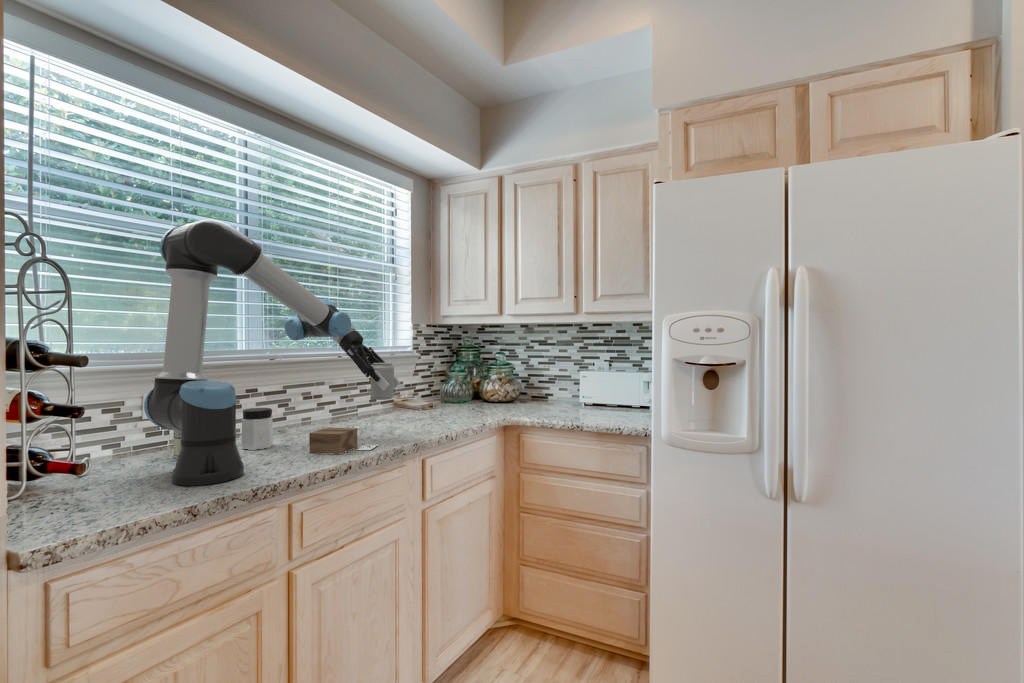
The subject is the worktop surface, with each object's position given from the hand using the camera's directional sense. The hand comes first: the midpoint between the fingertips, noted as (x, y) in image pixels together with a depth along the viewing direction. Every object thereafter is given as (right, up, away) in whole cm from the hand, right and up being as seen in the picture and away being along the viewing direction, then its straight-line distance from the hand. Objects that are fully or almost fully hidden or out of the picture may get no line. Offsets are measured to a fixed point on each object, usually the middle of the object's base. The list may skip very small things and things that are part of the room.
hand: (392, 386), depth 167 cm
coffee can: (-54, -19, -17) cm, 60 cm away
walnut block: (-15, -18, -12) cm, 26 cm away
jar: (-41, -19, -7) cm, 45 cm away
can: (-3, -4, +1) cm, 6 cm away
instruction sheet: (-6, -18, -9) cm, 21 cm away
